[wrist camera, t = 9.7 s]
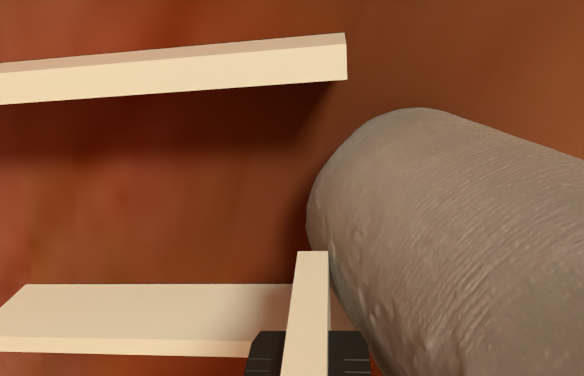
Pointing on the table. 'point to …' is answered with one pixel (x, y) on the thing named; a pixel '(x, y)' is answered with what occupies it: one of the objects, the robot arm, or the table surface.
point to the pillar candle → (454, 246)
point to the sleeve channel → (160, 297)
